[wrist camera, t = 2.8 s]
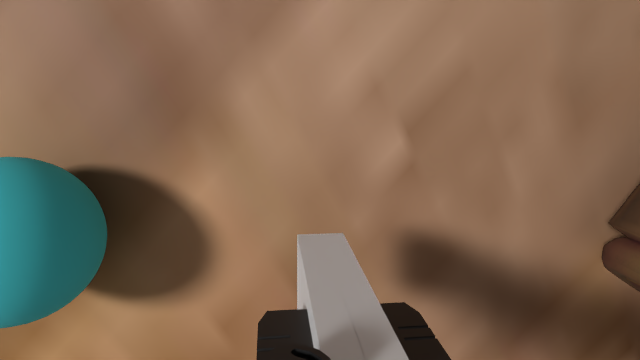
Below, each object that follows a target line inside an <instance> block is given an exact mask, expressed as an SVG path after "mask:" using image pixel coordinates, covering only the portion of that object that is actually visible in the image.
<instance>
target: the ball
mask: <svg viewBox="0 0 640 360" xmlns="http://www.w3.org/2000/svg"><path fill="white" fill-rule="evenodd" d="M106 243H107V225H106V220H105V216H104V213H103V210H102V208H101V206H100V204H99V202H98V200H97V199H96V197H95V196H94V194H93V193H92V192H91V191H90V189H89V188H88V187H87V186H86V185H85V184H84V183H83V182H82V181H80V180H79V179H78V178H77V177H75V176H74V175H72V174H71V173H69V172H68V171H66V170H64V169H62V168H60V167H58V166H55V165H53V164H50V163H46V162H43V161H39V160H35V159H30V158H21V157H0V328H7V327H13V326H18V325H22V324H27V323H30V322H33V321H36V320H39V319H41V318H44V317H46V316H48V315H50V314H52V313H54V312H56V311H58V310H59V309H61V308H62V307H64V306H65V305H67V304H68V303H70V302H71V301H72V300H73V299H74V298H76V297H77V296H78V295H79V294H80V293H81V292H82V291H83V290H84V289H85V288H86V287H87V286H88V284H89V283H90V282H91V280H92V279H93V278H94V276H95V274H96V273H97V271H98V269H99V267H100V265H101V262H102V260H103V258H104V254H105V250H106Z"/></svg>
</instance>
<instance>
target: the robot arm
mask: <svg viewBox="0 0 640 360" xmlns="http://www.w3.org/2000/svg"><path fill="white" fill-rule="evenodd" d="M257 360H451V359H450V357H449V356H448V354H447V353H446V351H445V350H444V348H443V347H442V345H441V344H440V343H439V341H438V340H437V339H435V335H434V334H433V332H432V331H431V329H430V328H428V325H427V323H426V322H425V320H424V319H423V317H422V316H421V314H420V313H419V312H418V311H416V310H415V309H413V308H412V307H410V306H409V305H407V304H406V303H404V302H402V303H383V304H380V303H379V301H378V299H377V297H376V296H375V294H374V292H373V290H372V288H371V286H370V284H369V282H368V280H367V278H366V276H365V274H364V272H363V271H362V269H361V267H360V265H359V263H358V261H357V259H356V257H355V255H354V253H353V251H352V249H351V248H350V246H349V244H348V242H347V240H346V238H345V236H344V234H343V233H333V234H300V235H297V310H278V311H267V312H266V313H265V315H264V316H263V317H262V319H261V320H260V321H259V323H258V340H257Z"/></svg>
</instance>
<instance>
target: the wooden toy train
mask: <svg viewBox="0 0 640 360" xmlns="http://www.w3.org/2000/svg"><path fill="white" fill-rule="evenodd" d="M609 224H611V225H612V226H613V227H615V228H616V229H617V230H619V231H620V232H621V233H623V234H624V235H626V236H627V237H621V238H616V239H614V240H613V241H611V242H609V243H608V244H606V245H605V246H604V247H603V253H602V260H603V264H604V267H605V268H607V269H608V270H609V271H610V272H612V273H613V274H614V275H616V276H617V277H618V278H620V279H621V280H623V281H624V282H626V283H627V284H629V285H630V286H632V287H633V288H635V289H636V290H638V291H640V184H639V185H638V186H637V188H636V189H635V190H634V191H633V193H632V194H631V195H630V196H629V198H628V199H627V200H626V201H625V203H624V204H623V205H622V206H621V208H620V209H619V210H618V212H617V213H616V214H615V215H614V217H613V218H612V219H611V220H610V222H609Z"/></svg>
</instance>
